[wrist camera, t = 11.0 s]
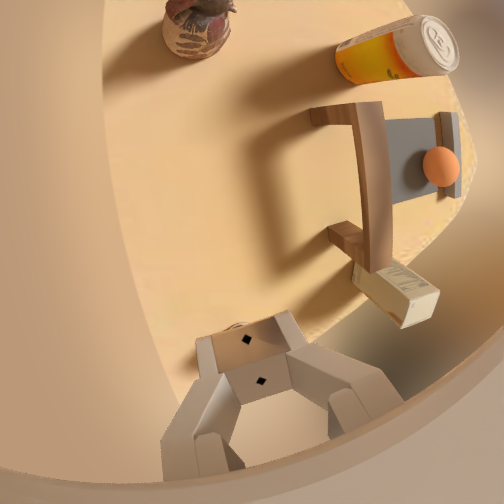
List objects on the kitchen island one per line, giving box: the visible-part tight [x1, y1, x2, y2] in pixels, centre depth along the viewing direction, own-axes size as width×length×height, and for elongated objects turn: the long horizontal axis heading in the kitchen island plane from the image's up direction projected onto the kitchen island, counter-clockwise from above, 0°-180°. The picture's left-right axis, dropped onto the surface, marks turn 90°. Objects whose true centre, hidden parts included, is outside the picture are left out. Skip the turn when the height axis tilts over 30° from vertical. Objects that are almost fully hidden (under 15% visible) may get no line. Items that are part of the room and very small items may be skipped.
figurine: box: [162, 0, 237, 59], centre depth 17 cm, size 7×7×12 cm
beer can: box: [335, 14, 459, 85], centre depth 20 cm, size 6×6×15 cm
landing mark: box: [385, 118, 438, 204], centre depth 34 cm, size 12×12×1 cm
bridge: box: [309, 101, 393, 274], centre depth 28 cm, size 3×17×10 cm, turn 13°
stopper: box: [440, 112, 461, 199], centre depth 34 cm, size 14×2×2 cm, turn 13°
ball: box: [423, 147, 460, 187], centre depth 32 cm, size 6×6×6 cm
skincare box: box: [352, 257, 440, 329], centre depth 34 cm, size 6×4×12 cm
